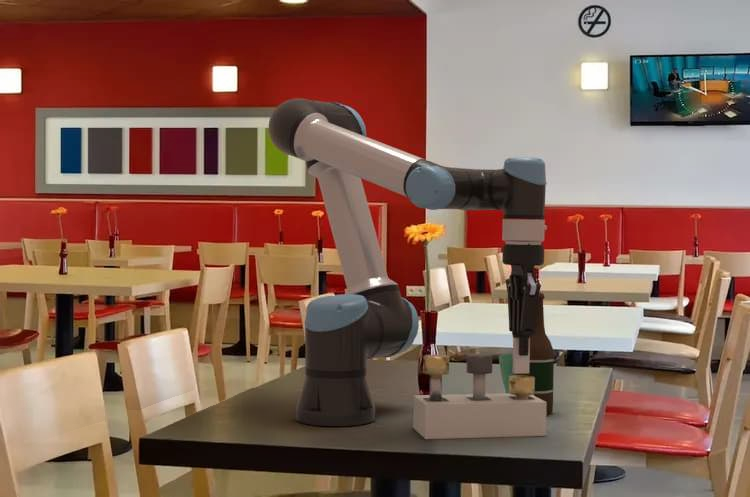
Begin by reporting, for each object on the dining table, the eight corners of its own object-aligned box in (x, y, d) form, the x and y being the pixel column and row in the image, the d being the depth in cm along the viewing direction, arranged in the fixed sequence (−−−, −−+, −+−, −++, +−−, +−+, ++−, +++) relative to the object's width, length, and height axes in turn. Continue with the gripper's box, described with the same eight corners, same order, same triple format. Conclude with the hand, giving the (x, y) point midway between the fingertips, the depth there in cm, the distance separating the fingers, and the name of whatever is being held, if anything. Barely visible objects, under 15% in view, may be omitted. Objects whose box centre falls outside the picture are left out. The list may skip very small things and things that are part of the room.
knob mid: (470, 402, 192) (470, 357, 192) (463, 398, 197) (463, 354, 197) (494, 401, 193) (495, 357, 193) (487, 397, 198) (488, 353, 197)
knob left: (426, 403, 191) (426, 358, 191) (420, 398, 195) (420, 354, 195) (451, 402, 192) (451, 357, 191) (445, 398, 196) (445, 354, 196)
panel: (425, 439, 188) (425, 404, 188) (413, 427, 198) (413, 395, 198) (546, 435, 192) (546, 402, 192) (528, 425, 202) (528, 393, 202)
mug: (538, 410, 217) (538, 361, 217) (491, 406, 221) (492, 358, 221) (558, 399, 230) (559, 353, 230) (514, 396, 235) (515, 350, 234)
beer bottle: (527, 417, 210) (528, 294, 209) (506, 410, 217) (508, 291, 216) (561, 415, 213) (562, 293, 212) (539, 408, 220) (541, 290, 219)
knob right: (512, 423, 194) (513, 379, 194) (505, 418, 198) (505, 375, 198) (537, 422, 195) (538, 378, 194) (529, 418, 199) (530, 375, 199)
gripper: (555, 244, 190) (552, 378, 191) (531, 242, 203) (529, 367, 203) (514, 244, 188) (511, 378, 189) (493, 241, 201) (490, 367, 202)
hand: (520, 372), depth 196 cm, fingers closed
